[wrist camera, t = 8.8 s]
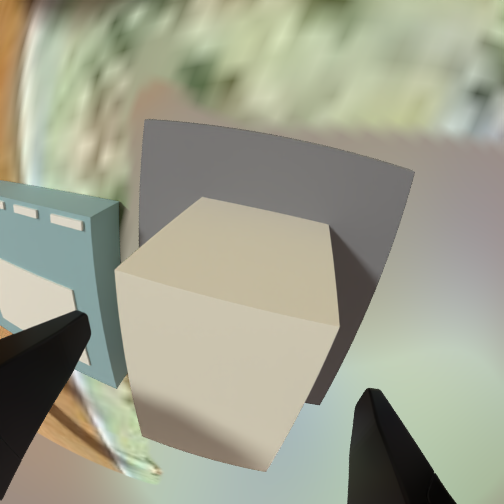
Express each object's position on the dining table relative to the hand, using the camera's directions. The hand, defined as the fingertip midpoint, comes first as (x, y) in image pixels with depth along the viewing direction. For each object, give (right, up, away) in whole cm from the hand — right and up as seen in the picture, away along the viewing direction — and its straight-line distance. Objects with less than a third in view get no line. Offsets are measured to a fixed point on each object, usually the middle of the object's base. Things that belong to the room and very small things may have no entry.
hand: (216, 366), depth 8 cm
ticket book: (-11, +2, +6) cm, 12 cm away
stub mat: (+1, +2, +4) cm, 4 cm away
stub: (+1, +2, +4) cm, 4 cm away
